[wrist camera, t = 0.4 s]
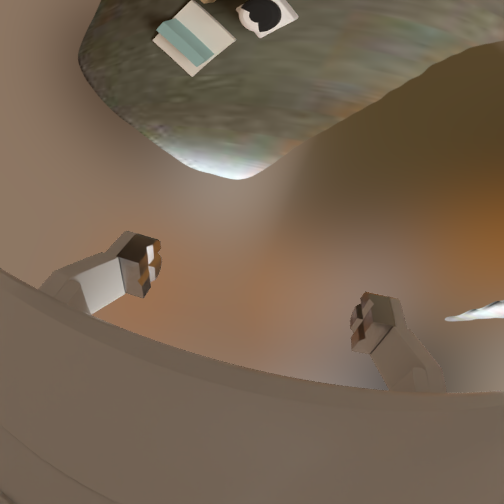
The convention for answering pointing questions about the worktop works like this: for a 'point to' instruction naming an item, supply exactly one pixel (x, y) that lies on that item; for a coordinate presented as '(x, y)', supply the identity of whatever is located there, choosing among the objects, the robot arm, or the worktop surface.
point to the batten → (208, 1)
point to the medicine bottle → (265, 15)
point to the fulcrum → (193, 38)
